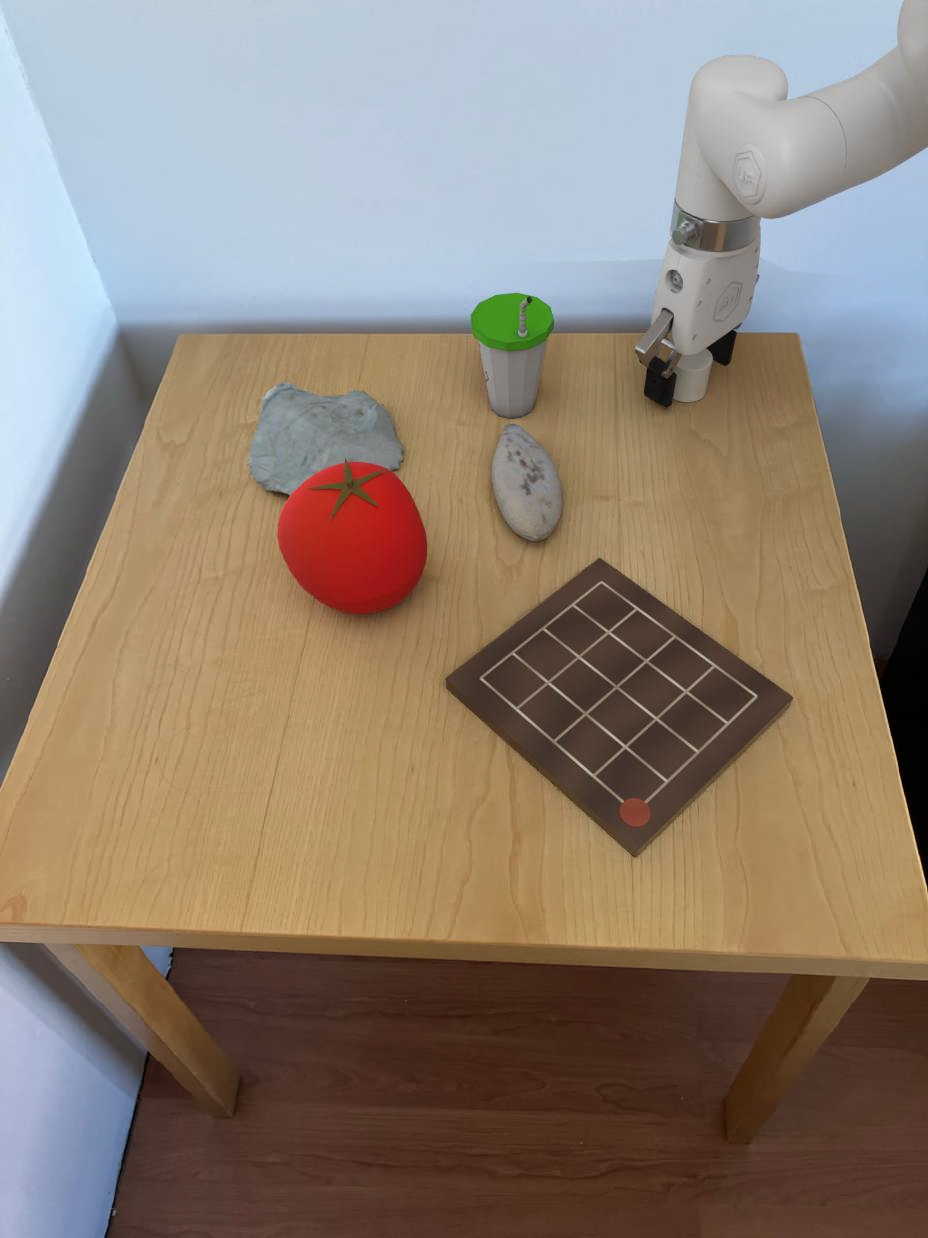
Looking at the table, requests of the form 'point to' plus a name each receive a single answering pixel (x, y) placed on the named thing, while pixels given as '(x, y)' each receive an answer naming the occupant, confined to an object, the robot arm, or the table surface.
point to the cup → (512, 349)
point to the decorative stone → (526, 484)
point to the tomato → (354, 538)
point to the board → (619, 702)
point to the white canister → (692, 376)
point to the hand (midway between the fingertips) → (687, 379)
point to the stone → (318, 436)
